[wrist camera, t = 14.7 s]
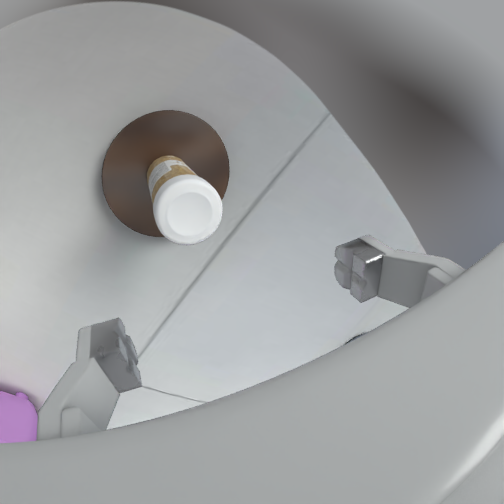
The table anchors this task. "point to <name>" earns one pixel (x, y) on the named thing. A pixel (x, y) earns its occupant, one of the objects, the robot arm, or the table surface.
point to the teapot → (17, 418)
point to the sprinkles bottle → (182, 202)
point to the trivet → (151, 148)
